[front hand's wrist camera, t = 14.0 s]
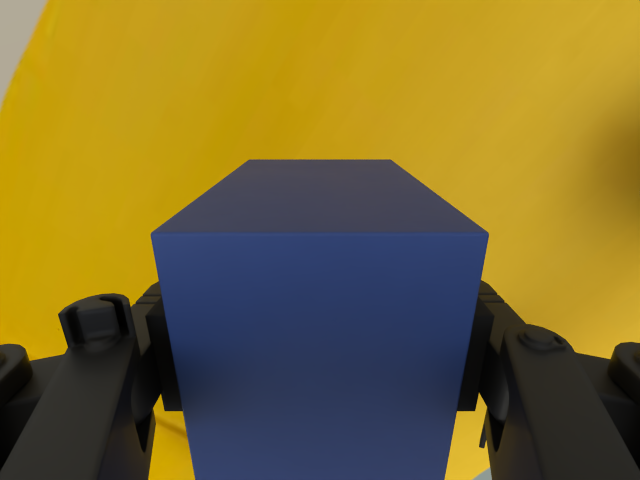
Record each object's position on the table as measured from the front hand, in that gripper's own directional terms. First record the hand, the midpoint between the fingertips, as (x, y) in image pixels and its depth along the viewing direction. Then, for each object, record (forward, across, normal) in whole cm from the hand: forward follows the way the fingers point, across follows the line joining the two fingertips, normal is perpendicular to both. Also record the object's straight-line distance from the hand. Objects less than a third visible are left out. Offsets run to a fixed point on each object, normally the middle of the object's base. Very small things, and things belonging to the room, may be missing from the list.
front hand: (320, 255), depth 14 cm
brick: (+2, 0, 0) cm, 2 cm away
